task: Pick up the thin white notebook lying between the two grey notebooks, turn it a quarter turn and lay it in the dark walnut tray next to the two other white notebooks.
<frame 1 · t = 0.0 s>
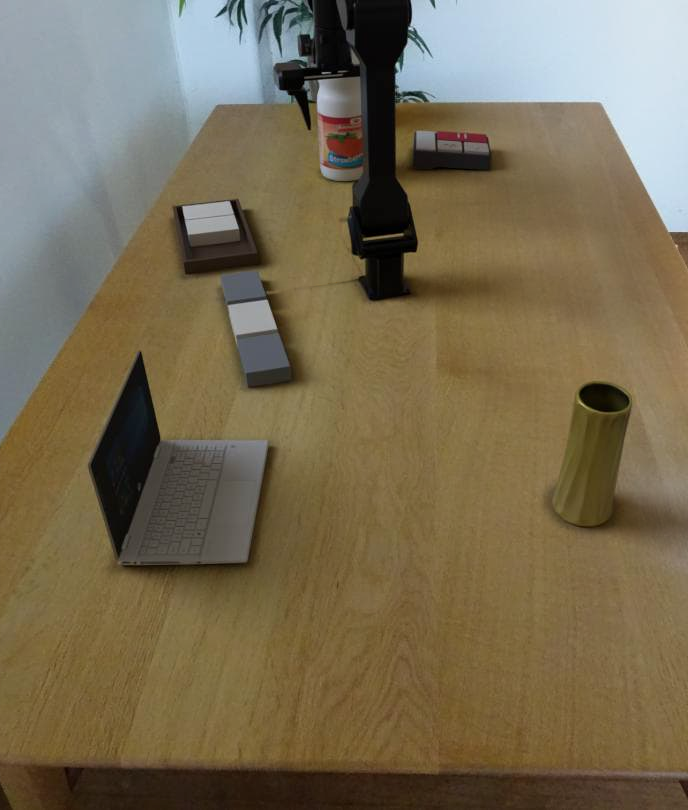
hand: (336, 127, 133), 15 cm above the table, tool pointing down, fingers open, 9 cm apart
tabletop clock: (348, 122, 179), on the table
white notebook: (253, 330, 110), on the table
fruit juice: (344, 174, 156), on the table
book tray: (214, 242, 132), on the table
white notebook 3: (209, 222, 136), resting on book tray
grey notebook front: (264, 366, 104), on the table
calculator: (450, 160, 161), on the table
laptop: (199, 502, 84), on the table
grey notebook back: (244, 298, 117), on the table
vase: (581, 507, 84), on the table
white notebook 2: (213, 236, 132), resting on book tray
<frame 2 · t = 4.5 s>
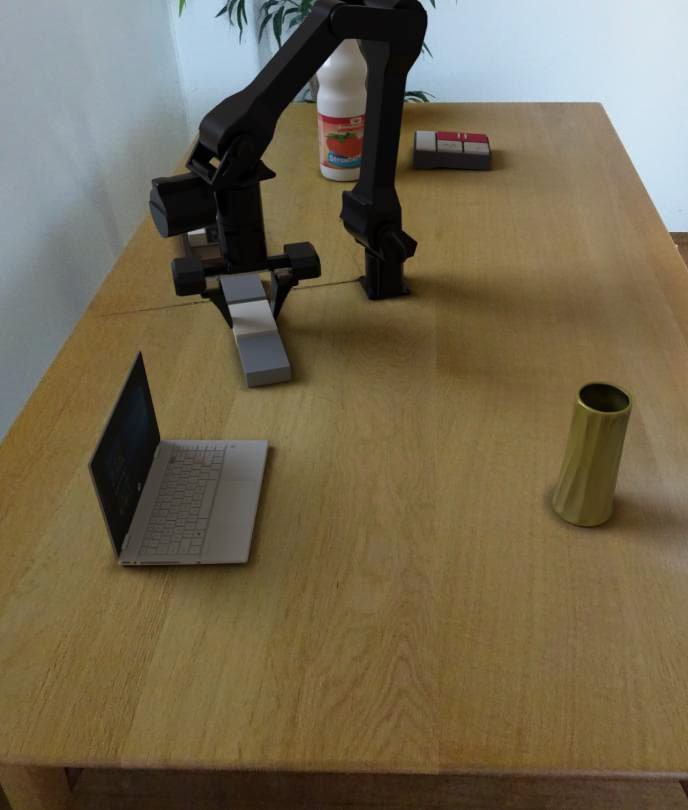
hand: (253, 323, 110), 1 cm above the table, tool pointing down, fingers closed on white notebook, 5 cm apart
white notebook: (253, 330, 110), on the table, touching gripper
everything else where it was.
when the fingers open (1 cm above the table, at t = 11.9 s): white notebook stays where it is, resting on book tray.
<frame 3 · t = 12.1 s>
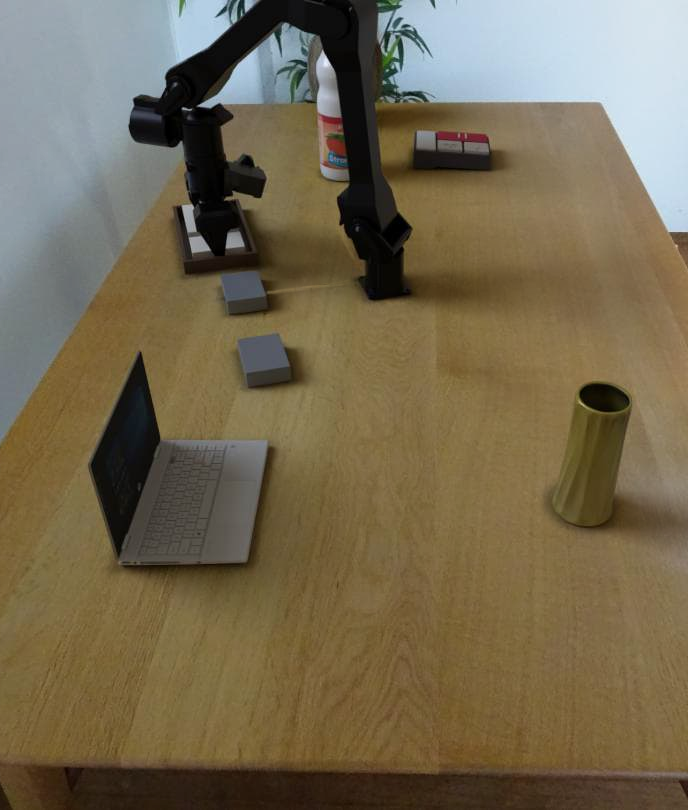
hand: (217, 248, 127), 1 cm above the table, tool pointing down, fingers open, 7 cm apart
white notebook: (218, 254, 127), resting on book tray
white notebook 3: (209, 221, 137), point 1 cm above the table, touching book tray, white notebook 2
white notebook 2: (213, 234, 133), point 1 cm above the table, touching gripper, white notebook 3
everything else where it was.
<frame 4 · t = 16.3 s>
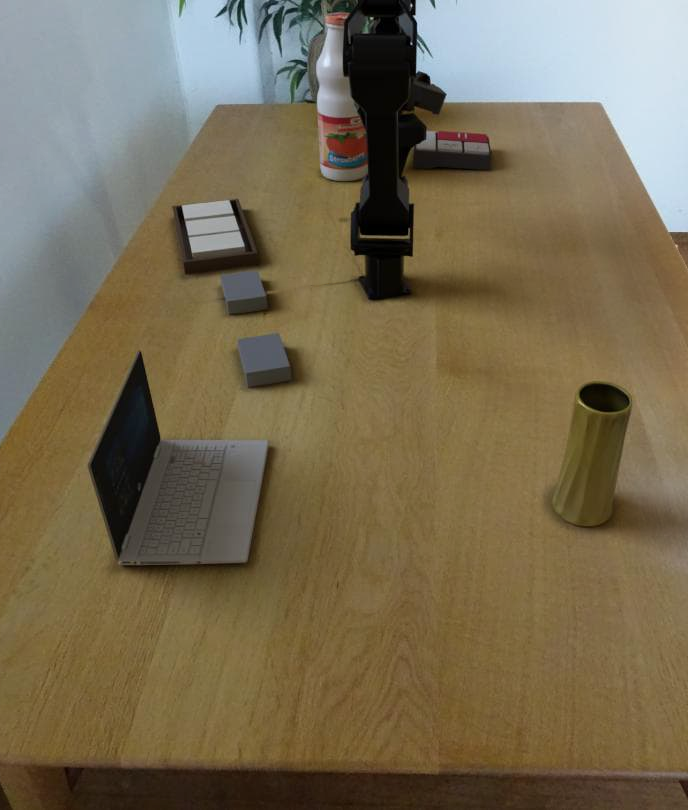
hand: (388, 169, 125), 12 cm above the table, tool pointing down, fingers open, 9 cm apart
white notebook 3: (209, 221, 137), resting on book tray
white notebook 2: (213, 237, 132), resting on book tray
everything else where it was.
at the end: white notebook 0.0 cm from the target spot in the book tray, point 0.5 cm above the book tray's base; white notebook tilted 0°; white notebook 6.2 cm from the white notebook 2 (horizontally) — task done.
